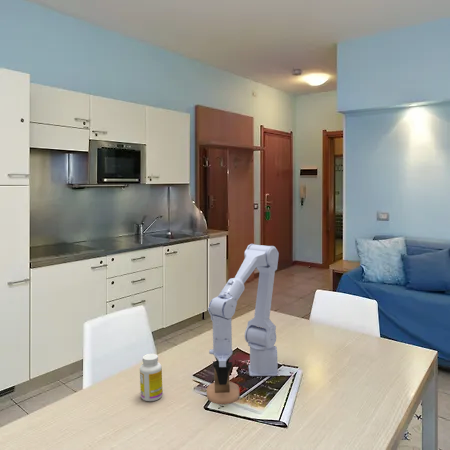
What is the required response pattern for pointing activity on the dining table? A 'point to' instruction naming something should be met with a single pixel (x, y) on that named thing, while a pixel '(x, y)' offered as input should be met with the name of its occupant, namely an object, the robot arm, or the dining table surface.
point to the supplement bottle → (151, 378)
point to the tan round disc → (223, 394)
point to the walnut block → (219, 387)
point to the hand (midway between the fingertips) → (222, 379)
